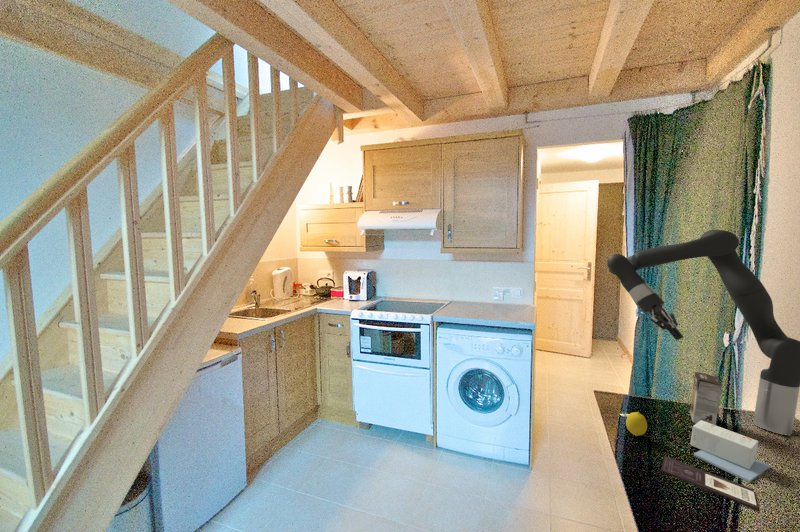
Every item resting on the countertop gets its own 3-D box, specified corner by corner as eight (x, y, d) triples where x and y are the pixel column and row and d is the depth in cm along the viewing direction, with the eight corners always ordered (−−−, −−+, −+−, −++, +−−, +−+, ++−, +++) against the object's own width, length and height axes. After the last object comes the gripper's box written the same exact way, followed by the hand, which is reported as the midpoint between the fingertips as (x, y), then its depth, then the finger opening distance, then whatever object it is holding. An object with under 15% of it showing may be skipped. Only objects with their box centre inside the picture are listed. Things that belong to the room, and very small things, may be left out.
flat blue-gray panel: (715, 443, 106) (716, 442, 106) (770, 467, 96) (770, 465, 96) (693, 455, 99) (693, 453, 99) (749, 482, 89) (749, 480, 89)
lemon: (644, 435, 109) (647, 411, 108) (646, 443, 104) (649, 418, 104) (624, 429, 112) (627, 406, 111) (624, 436, 107) (627, 412, 106)
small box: (689, 445, 104) (749, 470, 93) (692, 425, 103) (752, 448, 92) (698, 438, 108) (756, 461, 97) (700, 419, 108) (759, 440, 97)
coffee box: (688, 412, 127) (694, 371, 125) (711, 418, 123) (717, 376, 122) (691, 422, 119) (697, 378, 118) (716, 429, 116) (722, 384, 114)
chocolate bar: (664, 455, 98) (753, 489, 86) (663, 458, 98) (752, 492, 86) (661, 469, 91) (757, 508, 79) (660, 473, 91) (756, 512, 79)
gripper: (645, 292, 122) (681, 335, 112) (663, 292, 128) (699, 332, 118) (627, 304, 127) (660, 345, 117) (646, 302, 133) (679, 342, 123)
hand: (680, 338), depth 118 cm, fingers closed
